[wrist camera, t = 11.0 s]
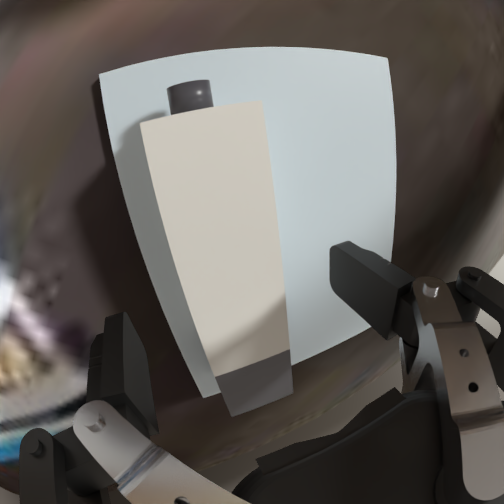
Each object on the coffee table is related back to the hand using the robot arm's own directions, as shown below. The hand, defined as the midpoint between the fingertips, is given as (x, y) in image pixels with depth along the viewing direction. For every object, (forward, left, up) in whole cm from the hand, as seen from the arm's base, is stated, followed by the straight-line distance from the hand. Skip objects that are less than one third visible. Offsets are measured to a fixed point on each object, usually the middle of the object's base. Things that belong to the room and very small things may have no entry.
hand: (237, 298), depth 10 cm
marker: (0, 0, -3) cm, 3 cm away
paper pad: (-4, 0, -3) cm, 5 cm away
